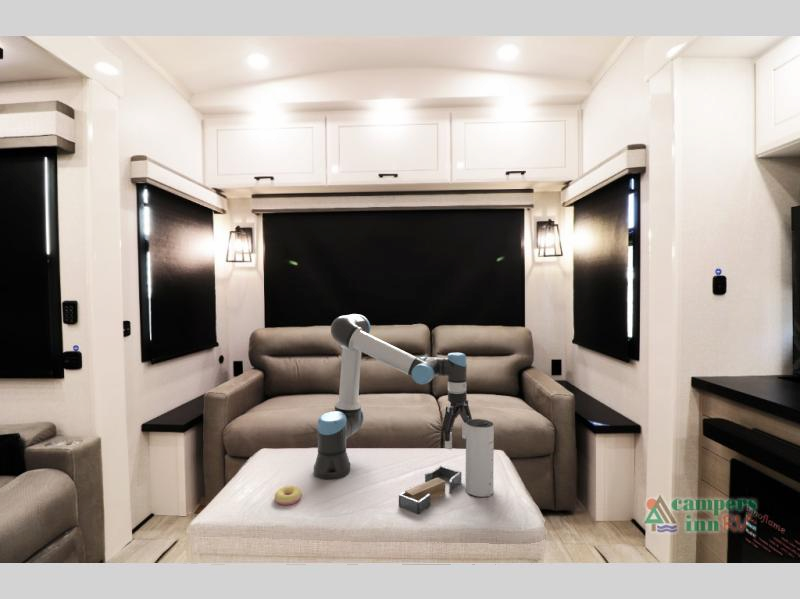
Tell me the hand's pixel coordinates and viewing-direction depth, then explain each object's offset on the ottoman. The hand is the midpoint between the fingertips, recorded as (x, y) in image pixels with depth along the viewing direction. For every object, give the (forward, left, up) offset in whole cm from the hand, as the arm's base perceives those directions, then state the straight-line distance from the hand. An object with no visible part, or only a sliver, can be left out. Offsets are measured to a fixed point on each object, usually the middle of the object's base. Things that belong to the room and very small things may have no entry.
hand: (457, 443), depth 165 cm
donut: (-40, -53, -14) cm, 68 cm away
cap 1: (0, -30, -13) cm, 32 cm away
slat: (0, -23, -13) cm, 27 cm away
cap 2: (0, -10, -13) cm, 16 cm away
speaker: (+13, -6, -13) cm, 20 cm away
